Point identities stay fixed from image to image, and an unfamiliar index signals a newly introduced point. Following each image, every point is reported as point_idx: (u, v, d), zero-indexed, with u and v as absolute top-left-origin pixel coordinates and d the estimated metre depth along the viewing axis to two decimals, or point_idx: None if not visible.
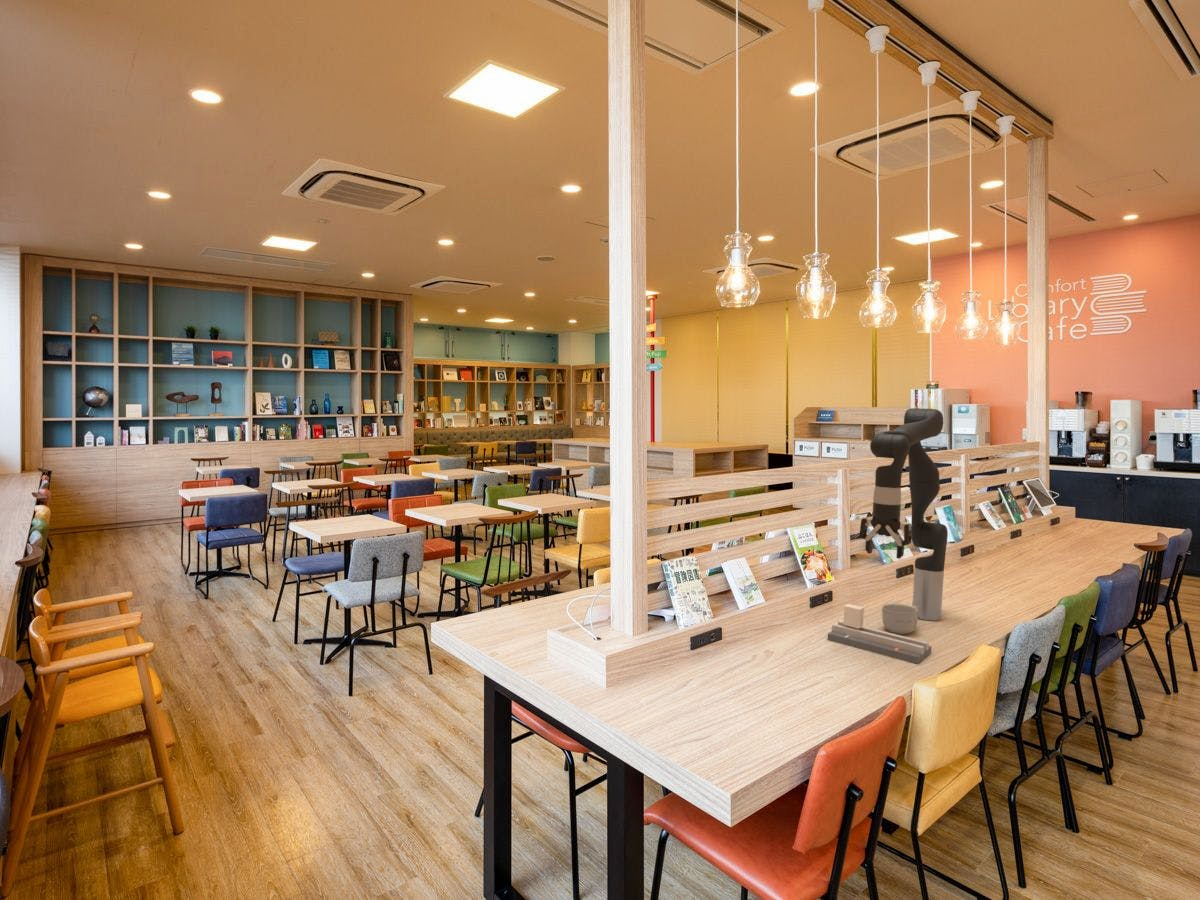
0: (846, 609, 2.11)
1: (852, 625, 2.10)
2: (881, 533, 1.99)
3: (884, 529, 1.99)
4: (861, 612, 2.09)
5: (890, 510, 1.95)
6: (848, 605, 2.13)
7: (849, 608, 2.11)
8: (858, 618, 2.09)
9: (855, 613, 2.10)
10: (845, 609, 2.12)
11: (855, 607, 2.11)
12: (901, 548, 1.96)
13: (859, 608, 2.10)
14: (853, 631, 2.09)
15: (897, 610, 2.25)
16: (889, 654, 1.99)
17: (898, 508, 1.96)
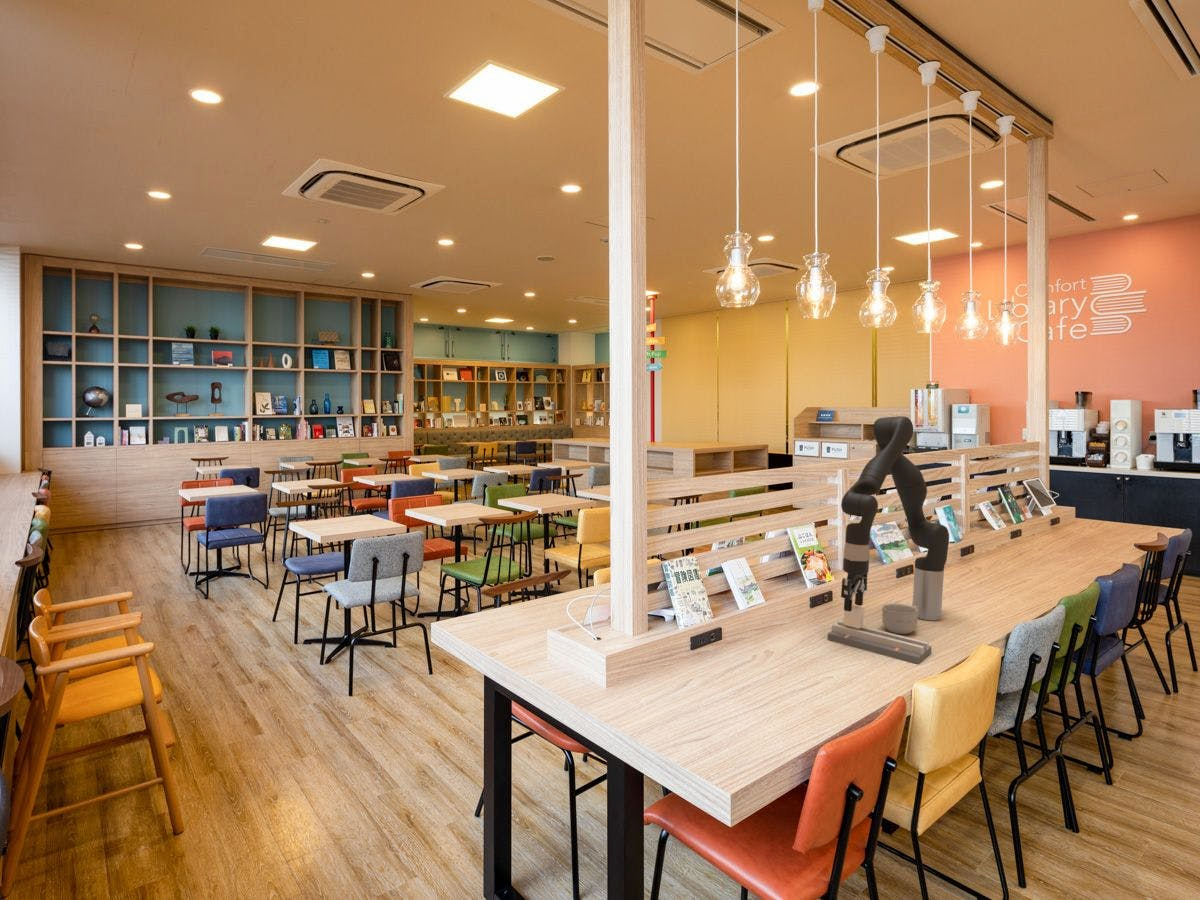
0: None
1: (852, 625, 2.10)
2: (857, 588, 2.10)
3: None
4: (861, 612, 2.09)
5: None
6: None
7: None
8: (858, 618, 2.09)
9: (855, 613, 2.10)
10: None
11: (855, 607, 2.11)
12: None
13: (859, 608, 2.10)
14: (853, 631, 2.09)
15: (897, 610, 2.25)
16: (889, 654, 1.99)
17: None
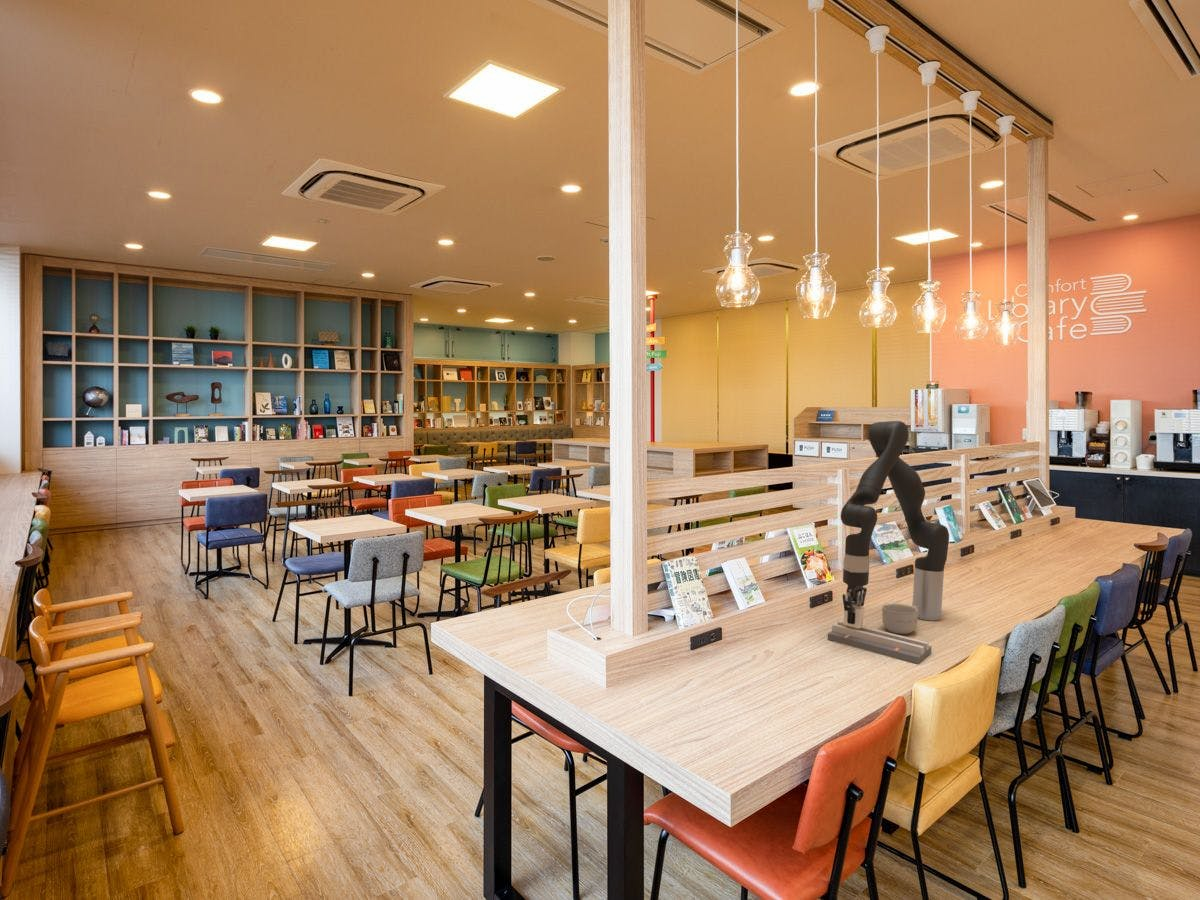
0: None
1: (852, 625, 2.10)
2: None
3: None
4: (861, 612, 2.09)
5: None
6: None
7: None
8: (858, 618, 2.09)
9: (855, 613, 2.10)
10: None
11: None
12: None
13: (859, 608, 2.10)
14: (853, 631, 2.09)
15: (897, 610, 2.25)
16: (889, 654, 1.99)
17: None
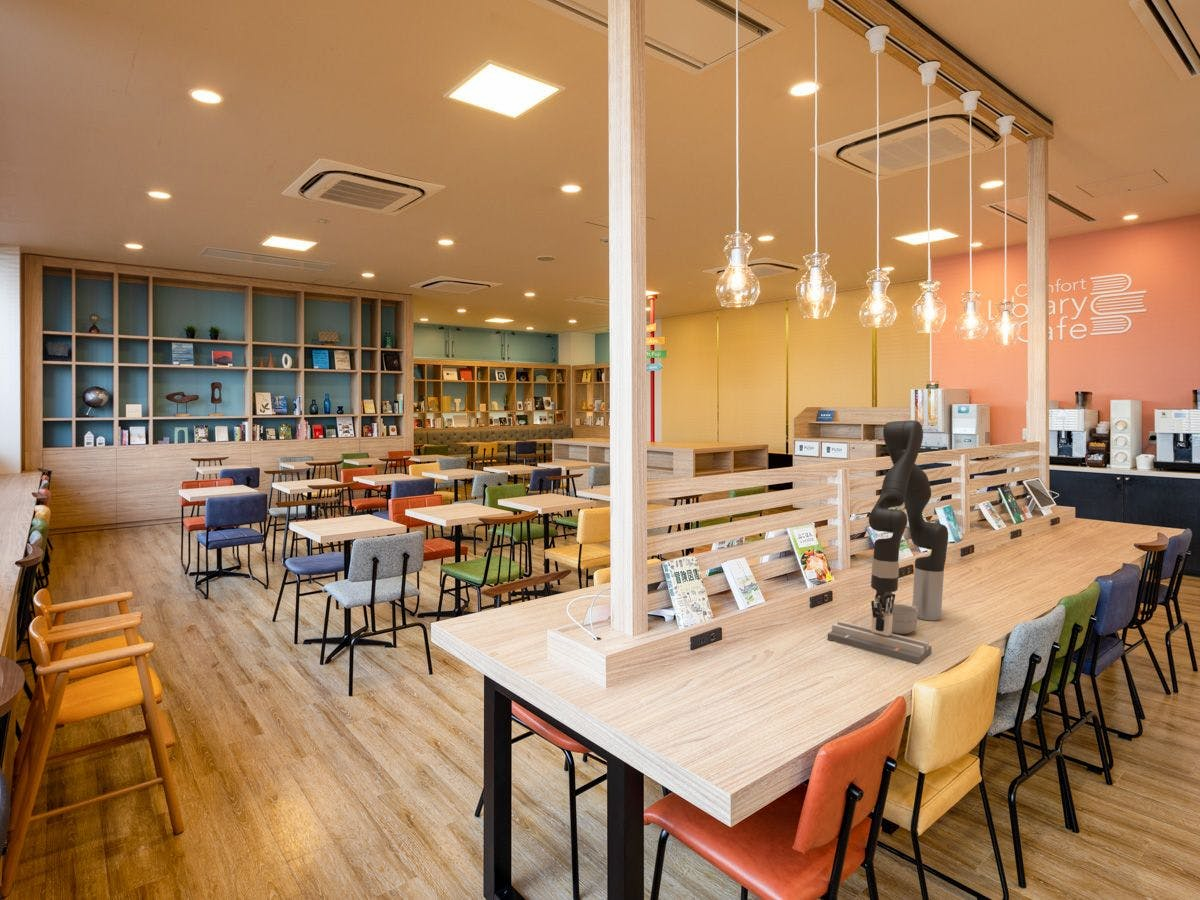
0: None
1: (881, 632, 2.04)
2: None
3: None
4: (890, 619, 2.04)
5: None
6: None
7: None
8: (887, 625, 2.03)
9: None
10: None
11: None
12: None
13: (888, 615, 2.04)
14: (853, 631, 2.09)
15: (897, 610, 2.25)
16: (889, 654, 1.99)
17: None
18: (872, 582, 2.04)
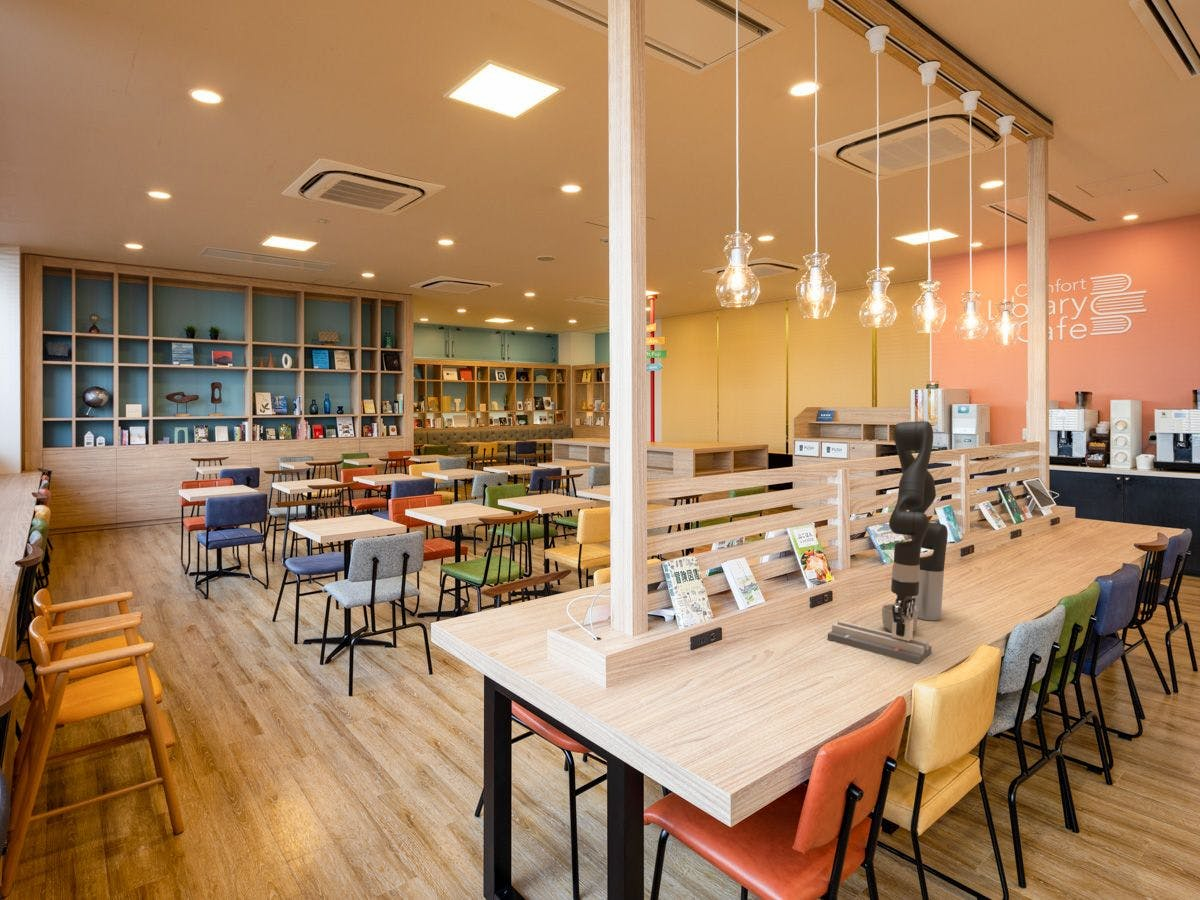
0: None
1: (901, 637, 2.00)
2: None
3: None
4: (911, 624, 1.99)
5: None
6: None
7: None
8: (908, 630, 1.99)
9: None
10: None
11: None
12: None
13: (909, 619, 2.00)
14: (853, 631, 2.09)
15: None
16: (889, 654, 1.99)
17: None
18: (892, 586, 2.00)
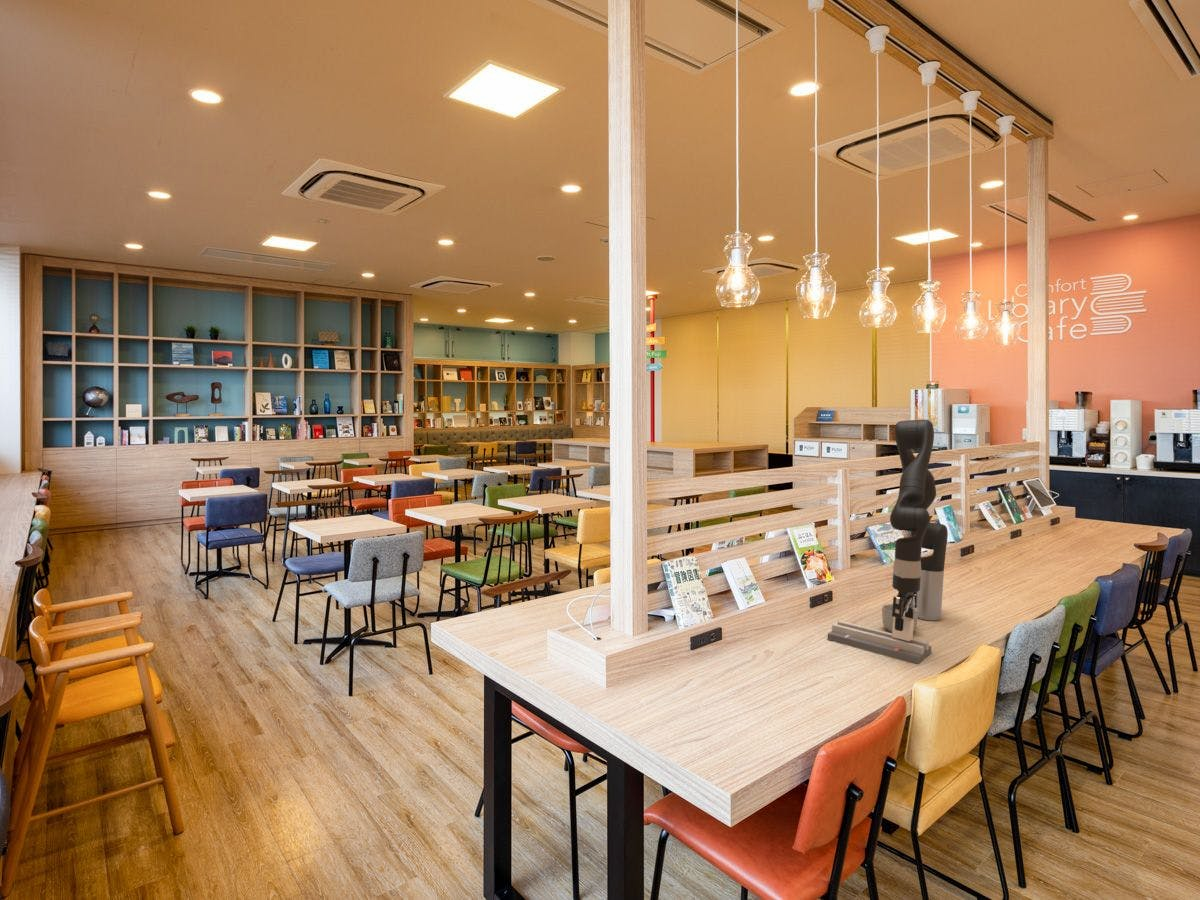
0: None
1: (902, 637, 2.00)
2: None
3: None
4: (911, 624, 1.99)
5: None
6: None
7: None
8: (908, 630, 1.99)
9: (905, 624, 2.00)
10: (894, 620, 2.02)
11: (905, 618, 2.01)
12: None
13: (909, 620, 2.00)
14: (853, 631, 2.09)
15: None
16: (889, 654, 1.99)
17: None
18: (894, 582, 2.00)
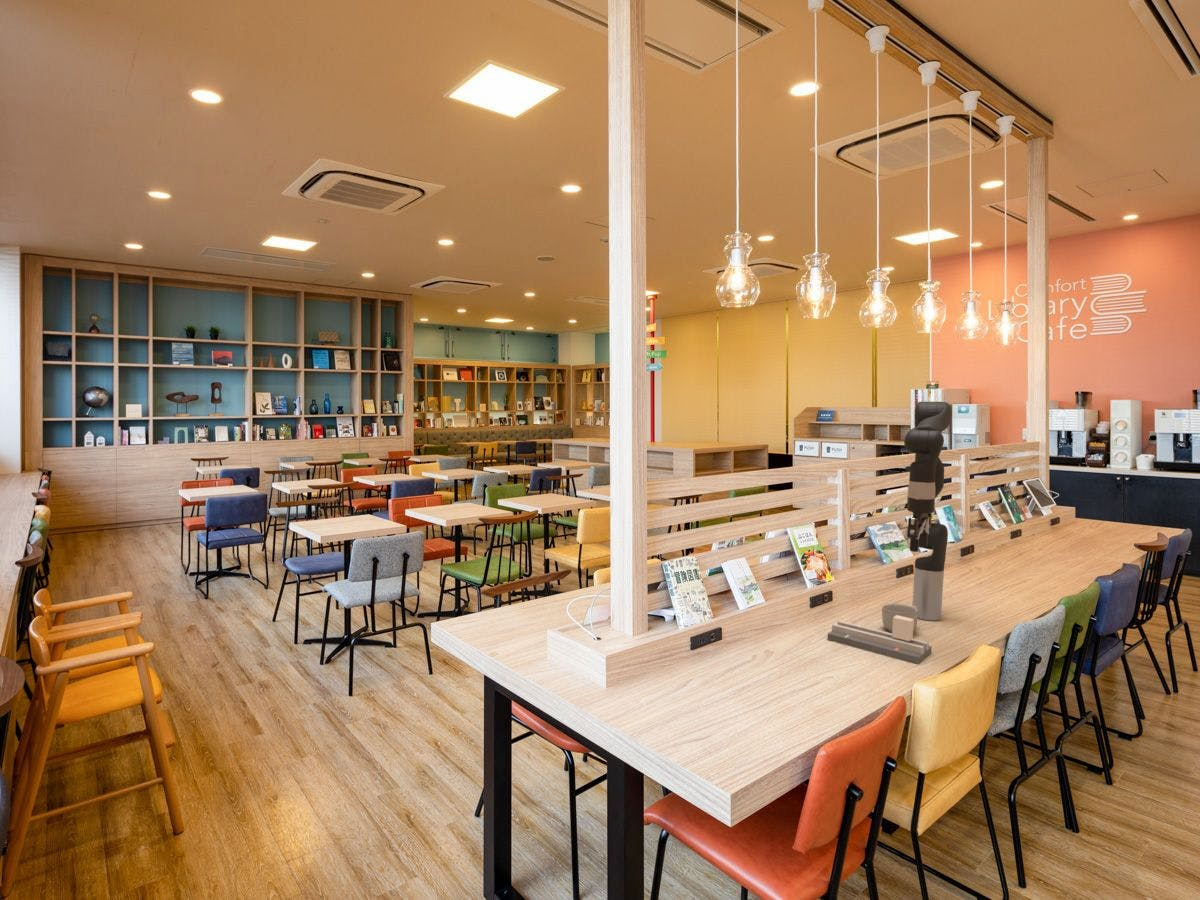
0: (895, 620, 2.01)
1: (902, 637, 2.00)
2: (922, 527, 2.03)
3: None
4: (911, 624, 1.99)
5: None
6: (897, 616, 2.02)
7: (898, 619, 2.01)
8: (908, 630, 1.99)
9: (905, 624, 2.00)
10: (894, 620, 2.02)
11: (905, 618, 2.01)
12: None
13: (909, 620, 2.00)
14: (853, 631, 2.09)
15: (897, 610, 2.25)
16: (889, 654, 1.99)
17: None
18: (908, 505, 2.04)
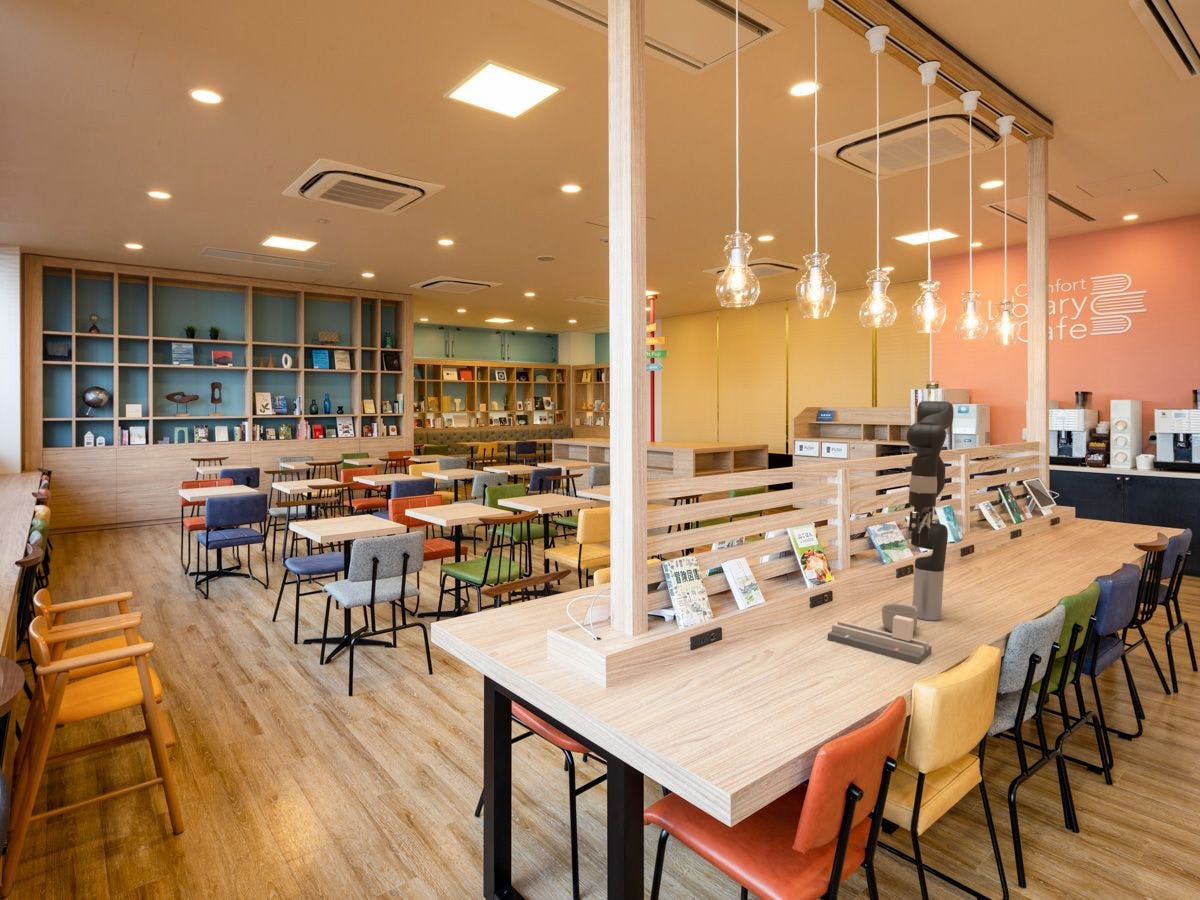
0: (895, 620, 2.01)
1: (902, 637, 2.00)
2: None
3: None
4: (911, 624, 1.99)
5: None
6: (897, 616, 2.02)
7: (898, 619, 2.01)
8: (908, 630, 1.99)
9: (905, 624, 2.00)
10: (894, 620, 2.02)
11: (905, 618, 2.01)
12: None
13: (909, 620, 2.00)
14: (853, 631, 2.09)
15: (897, 610, 2.25)
16: (889, 654, 1.99)
17: None
18: (910, 499, 2.04)
